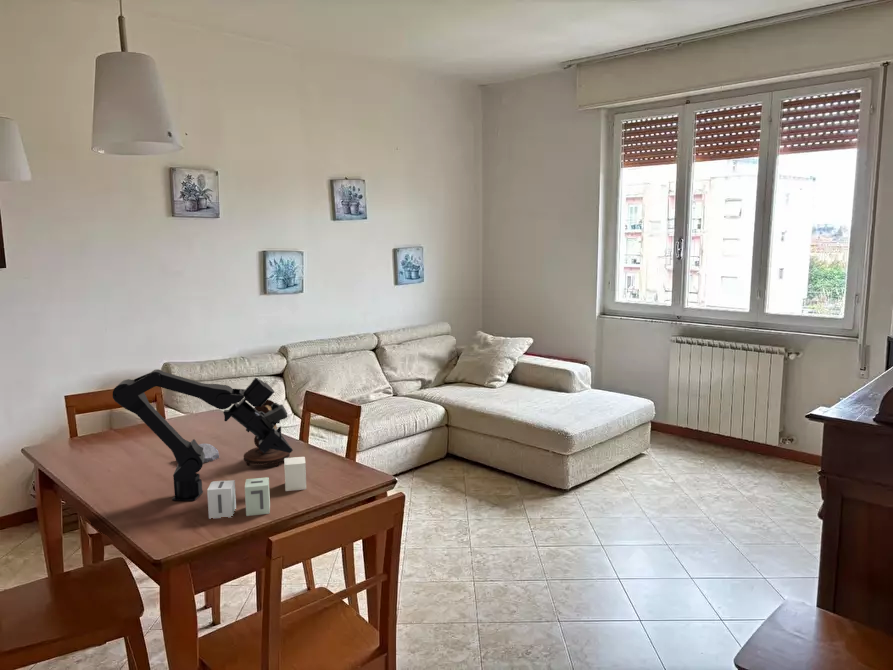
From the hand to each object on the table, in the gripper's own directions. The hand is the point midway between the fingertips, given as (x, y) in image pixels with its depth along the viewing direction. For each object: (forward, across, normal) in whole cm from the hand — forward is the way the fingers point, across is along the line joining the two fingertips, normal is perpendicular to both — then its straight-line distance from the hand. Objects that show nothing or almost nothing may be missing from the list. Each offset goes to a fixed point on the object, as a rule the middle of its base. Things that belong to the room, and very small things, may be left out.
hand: (291, 451), depth 189 cm
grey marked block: (-6, -14, +21) cm, 26 cm away
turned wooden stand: (+2, +25, +14) cm, 29 cm away
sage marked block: (+1, -15, +14) cm, 21 cm away
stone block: (-14, +32, +29) cm, 45 cm away
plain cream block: (+8, 0, +7) cm, 11 cm away
